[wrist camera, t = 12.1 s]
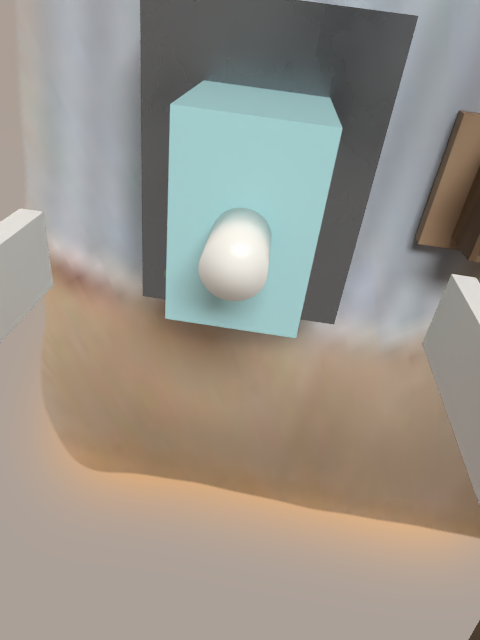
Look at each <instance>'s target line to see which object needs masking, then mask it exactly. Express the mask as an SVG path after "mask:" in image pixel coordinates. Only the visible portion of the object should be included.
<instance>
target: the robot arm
mask: <svg viewBox="0 0 480 640" xmlns="http://www.w3.org/2000/svg"><path fill="white" fill-rule="evenodd" d="M52 286H53V279H52V272H51V265H50V257H49V250H48V243H47V236H46V228H45V221H44V214H43V212H41V211H34V210H28V209H21V208H20V209H19V210H17V211H16V212H14V213H13V214H11V215H10V216H8V217H7V218H6V219H4V220H3V221H1V222H0V343H1V342H2V341H3V340H4V339H5V337H6V336H7V335H8V334H9V333H10V332H11V331H12V330H13V329H14V328H15V327H16V326H17V324H18V323H19V322H20V321H21V320H22V319H23V318H24V317H25V316H26V315H27V314H28V313H29V311H30V310H31V309H32V308H33V307H34V306H35V305H36V304H37V303H38V302H39V301H40V300H41V298H42V297H43V296H44V295H45V294H46V293H47V292H48V291H49V290H50V289H51V288H52ZM422 344H423V347H424V350H425V353H426V356H427V358H428V361H429V364H430V367H431V370H432V373H433V375H434V378H435V381H436V384H437V387H438V390H439V392H440V395H441V398H442V401H443V404H444V407H445V409H446V412H447V415H448V418H449V421H450V424H451V426H452V429H453V432H454V435H455V438H456V441H457V443H458V446H459V449H460V452H461V455H462V458H463V460H464V463H465V466H466V469H467V472H468V475H469V477H470V480H471V483H472V486H473V489H474V492H475V494H476V497H477V500H478V503H479V506H480V283H479V281H478V280H477V278H475V277H469V276H462V275H455V274H451V276H450V279H449V281H448V284H447V286H446V288H445V291H444V293H443V296H442V298H441V300H440V303H439V305H438V307H437V310H436V312H435V315H434V317H433V319H432V322H431V324H430V326H429V329H428V331H427V334H426V336H425V338H424V341H423V343H422ZM469 640H480V621H479V623H478V624H477V626H476V628H475V630H474V631H473V633H472V635H471V636H470V638H469Z"/></svg>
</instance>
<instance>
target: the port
mask: <svg viewBox="0 0 480 640" xmlns="http://www.w3.org/2000/svg"><path fill="white" fill-rule="evenodd" d="M417 19H418V16H414V15H406V14H399V13H391V12H383V11H376V10H368V9H361V8H353V7H346V6H338V5H331V4H323V3H316V2H308V1H301V0H140V22H141V133H142V245H143V296H147V297H154V298H161V299H166V260H167V218H168V175H169V133H170V104H171V103H172V102H174V101H175V100H177V99H178V98H180V97H181V96H182V95H184V94H185V93H187V92H188V91H189V90H191V89H192V88H194V87H195V86H197V85H198V84H199V83H201V82H202V81H204V80H205V81H212V82H220V83H227V84H234V85H241V86H249V87H256V88H263V89H270V90H278V91H285V92H292V93H299V94H307V95H314V96H321V97H329V98H330V99H331V101H332V103H333V106H334V108H335V111H336V113H337V116H338V118H339V120H340V123H341V125H342V128H343V129H342V133H341V138H340V142H339V147H338V151H337V156H336V160H335V165H334V169H333V174H332V178H331V183H330V187H329V192H328V196H327V201H326V205H325V210H324V214H323V219H322V223H321V228H320V232H319V237H318V241H317V246H316V250H315V255H314V259H313V264H312V268H311V273H310V277H309V282H308V286H307V291H306V295H305V300H304V304H303V309H302V313H301V318H300V319H302V320H309V321H315V322H322V323H329V324H334V322H335V319H336V315H337V311H338V308H339V304H340V300H341V297H342V293H343V289H344V286H345V282H346V278H347V275H348V271H349V267H350V264H351V260H352V256H353V253H354V249H355V246H356V242H357V238H358V235H359V231H360V227H361V224H362V220H363V216H364V213H365V209H366V205H367V202H368V198H369V194H370V191H371V187H372V183H373V180H374V176H375V172H376V169H377V165H378V161H379V158H380V154H381V150H382V147H383V143H384V139H385V136H386V132H387V129H388V125H389V121H390V118H391V114H392V110H393V107H394V103H395V99H396V96H397V92H398V88H399V85H400V81H401V77H402V74H403V70H404V66H405V63H406V59H407V55H408V52H409V48H410V44H411V41H412V37H413V33H414V30H415V26H416V22H417Z"/></svg>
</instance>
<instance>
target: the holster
mask: <svg viewBox="0 0 480 640" xmlns="http://www.w3.org/2000/svg"><path fill="white" fill-rule="evenodd" d="M415 239H416V241H417V243H418V244H421V245H428V246H435V247H442V248H449V249H456V250H461V251H462V253H463V254H464V256H465V257H466V259H467V260H468V261H472V262H479V263H480V113H473V112H466V111H459V113H458V116H457V119H456V122H455V124H454V127H453V130H452V133H451V136H450V139H449V142H448V144H447V147H446V150H445V153H444V156H443V159H442V162H441V165H440V167H439V170H438V173H437V176H436V179H435V182H434V185H433V187H432V190H431V193H430V196H429V199H428V202H427V205H426V208H425V210H424V213H423V216H422V219H421V222H420V225H419V228H418V230H417V233H416V236H415Z"/></svg>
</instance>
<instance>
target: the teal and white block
mask: <svg viewBox="0 0 480 640" xmlns="http://www.w3.org/2000/svg"><path fill="white" fill-rule="evenodd" d="M342 129H343V128H342V125H341V123H340V120H339V118H338V116H337V113H336V111H335V108H334V106H333V103H332V101H331V99H330V98H329V97H321V96H314V95H307V94H299V93H292V92H285V91H278V90H270V89H263V88H256V87H249V86H241V85H234V84H227V83H220V82H212V81H205V80H204V81H202V82H201V83H199V84H198V85H197V86H195V87H194V88H192V89H191V90H189V91H188V92H187V93H185V94H184V95H182V96H181V97H180V98H178V99H177V100H175V101H174V102H172V103H171V104H170V133H169V175H168V218H167V260H166V303H165V319H171V320H178V321H184V322H191V323H198V324H204V325H211V326H218V327H224V328H231V329H238V330H244V331H251V332H258V333H264V334H271V335H278V336H284V337H291V338H296V336H297V331H298V327H299V322H300V318H301V313H302V309H303V304H304V300H305V295H306V291H307V286H308V282H309V277H310V273H311V268H312V264H313V259H314V255H315V250H316V246H317V241H318V237H319V232H320V228H321V223H322V219H323V214H324V210H325V205H326V201H327V196H328V192H329V187H330V183H331V178H332V174H333V169H334V165H335V160H336V156H337V151H338V147H339V142H340V138H341V133H342Z"/></svg>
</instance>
